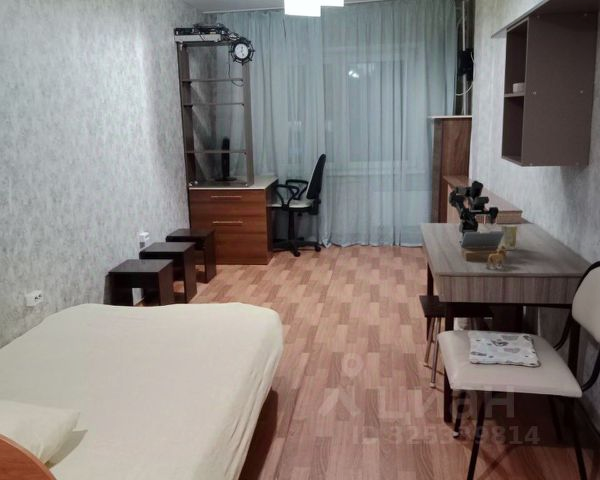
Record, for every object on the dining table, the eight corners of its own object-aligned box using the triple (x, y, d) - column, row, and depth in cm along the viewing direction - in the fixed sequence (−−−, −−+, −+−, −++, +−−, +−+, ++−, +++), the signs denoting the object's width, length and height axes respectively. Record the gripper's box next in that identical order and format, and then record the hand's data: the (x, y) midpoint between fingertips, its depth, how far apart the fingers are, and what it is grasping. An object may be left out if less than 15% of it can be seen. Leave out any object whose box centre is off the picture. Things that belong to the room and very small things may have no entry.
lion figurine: (497, 262, 268) (498, 244, 266) (508, 264, 264) (509, 245, 262) (483, 269, 257) (484, 250, 255) (494, 271, 254) (495, 251, 252)
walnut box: (460, 254, 284) (460, 247, 283) (497, 254, 283) (497, 246, 282) (466, 261, 272) (466, 253, 271) (504, 260, 271) (505, 252, 270)
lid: (460, 247, 283) (460, 244, 283) (497, 246, 282) (497, 244, 282) (465, 232, 272) (465, 230, 272) (504, 232, 271) (503, 230, 271)
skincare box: (504, 250, 290) (506, 226, 287) (499, 248, 294) (501, 225, 291) (515, 249, 291) (517, 225, 289) (510, 247, 296) (511, 224, 293)
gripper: (459, 192, 287) (467, 212, 276) (496, 191, 287) (505, 211, 276) (455, 209, 295) (463, 229, 284) (491, 207, 295) (500, 228, 284)
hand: (483, 224), depth 282 cm, fingers open, 9 cm apart
